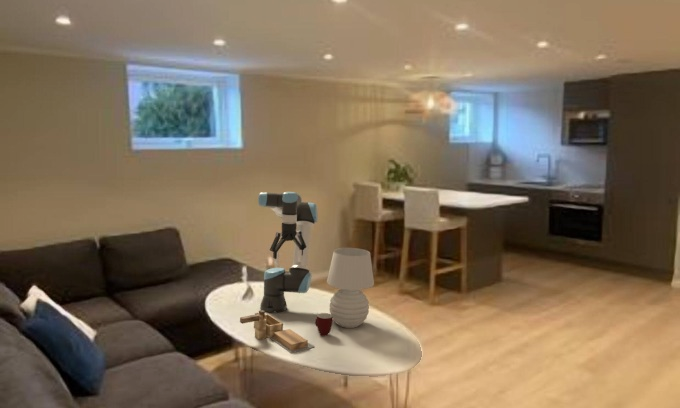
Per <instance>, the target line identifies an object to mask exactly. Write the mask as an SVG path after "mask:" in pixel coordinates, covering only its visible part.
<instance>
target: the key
mask: <svg viewBox="0 0 680 408" xmlns="http://www.w3.org/2000/svg"><path fill="white" fill-rule="evenodd" d="M258 313H259V314H255V313H254V314H251V315H244V316H240V317H239V322H240V324H247V323H252V322H253V323H254V321H258V320H259V316H263V320H264V319H265V314H266V313H265V311H263V310H261V309H260V310H258Z"/></svg>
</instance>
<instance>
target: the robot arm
mask: <svg viewBox="0 0 680 408" xmlns="http://www.w3.org/2000/svg"><path fill="white" fill-rule="evenodd" d="M257 202H258V205H259V206H260V207H264V208H266V207H267V208H269V209H270V210H271V211H273V212H274V214H275V215H276V216H277V217H279V218H280V219H281V232H277V231H276V233H275V237H274V239H273V242H272V244H271V246H270V248H269V251H270V252H272V254H273V255H272V257H273V260H274V261H273V262H274V263H273V264H274V265H275V266H279V255H280V254H279V252H278V251H279V250H280V249H281V248H282V246H283V244H284V243H286V242H289V241H293V242H294V248H293V257H292V265H291V266H290V267H289V268H288V269H289V270H288V271H286V269H285V267H272V268H269V269H266V270H265V271H264V274H263V295H262V299H261V302H260V305H259V306H260V308H259V309H260V310H263V311H265V312H266V313H280V312H284V311H286V310H287V307H288V305H287V301H286V298H285V293H293V294H294V293H297V294H306V293H308V291H309V290H310V287H311V283H312V276H313V275H312V273H311V272H310V269H309V268H308V261H309V253H310V242H311V235H312V228H313V227H314V226H315V224H316V223H318V218H319V215H318V207H317V204H316V203H315V202H309V201H308V202H304V201H303V200H302V196H301V195H300V194H298V193H297V192H296V191H285V192H282V193H279V192H268V191H267V192H266V191H265V192H259V194H258V199H257Z"/></svg>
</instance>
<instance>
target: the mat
mask: <svg viewBox="0 0 680 408" xmlns="http://www.w3.org/2000/svg"><path fill="white" fill-rule="evenodd" d="M270 339H271V340H272V341H273V342H275V343H276V344H277V345H278V346H280V347H282V348H283V349H285V350H286V351H287V352H288V353H290V354H294V353H297V352H301V351H305V350H309V349H313V348H315V345H313V344H312V343H310V342H308V347H305V348H300V349H296V350H292V351H291V350H289V349H288V348H287V347H285V346H284V345H282V344H281V343H280V342H278V341H277V340H275V339H274V337H270Z"/></svg>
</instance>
